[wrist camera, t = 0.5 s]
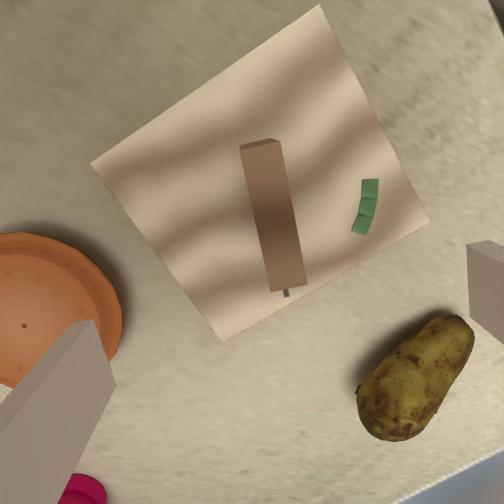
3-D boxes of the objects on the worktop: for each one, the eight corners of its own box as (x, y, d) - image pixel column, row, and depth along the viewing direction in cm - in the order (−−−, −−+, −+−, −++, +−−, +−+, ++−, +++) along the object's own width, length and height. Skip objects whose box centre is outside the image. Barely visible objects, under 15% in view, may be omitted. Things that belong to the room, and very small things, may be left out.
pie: (-44, 345, 40) (-83, 375, 35) (-18, 199, 36) (-59, 210, 31) (109, 389, 42) (92, 422, 37) (150, 255, 37) (137, 273, 33)
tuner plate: (95, 162, 35) (88, 163, 33) (315, 9, 32) (319, 3, 30) (223, 334, 40) (222, 343, 38) (422, 218, 37) (430, 222, 35)
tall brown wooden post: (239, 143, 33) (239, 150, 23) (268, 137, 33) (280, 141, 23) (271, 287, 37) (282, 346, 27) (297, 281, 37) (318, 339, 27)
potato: (472, 363, 42) (524, 416, 34) (356, 408, 43) (381, 469, 35) (450, 297, 39) (500, 337, 32) (329, 346, 41) (349, 396, 33)
